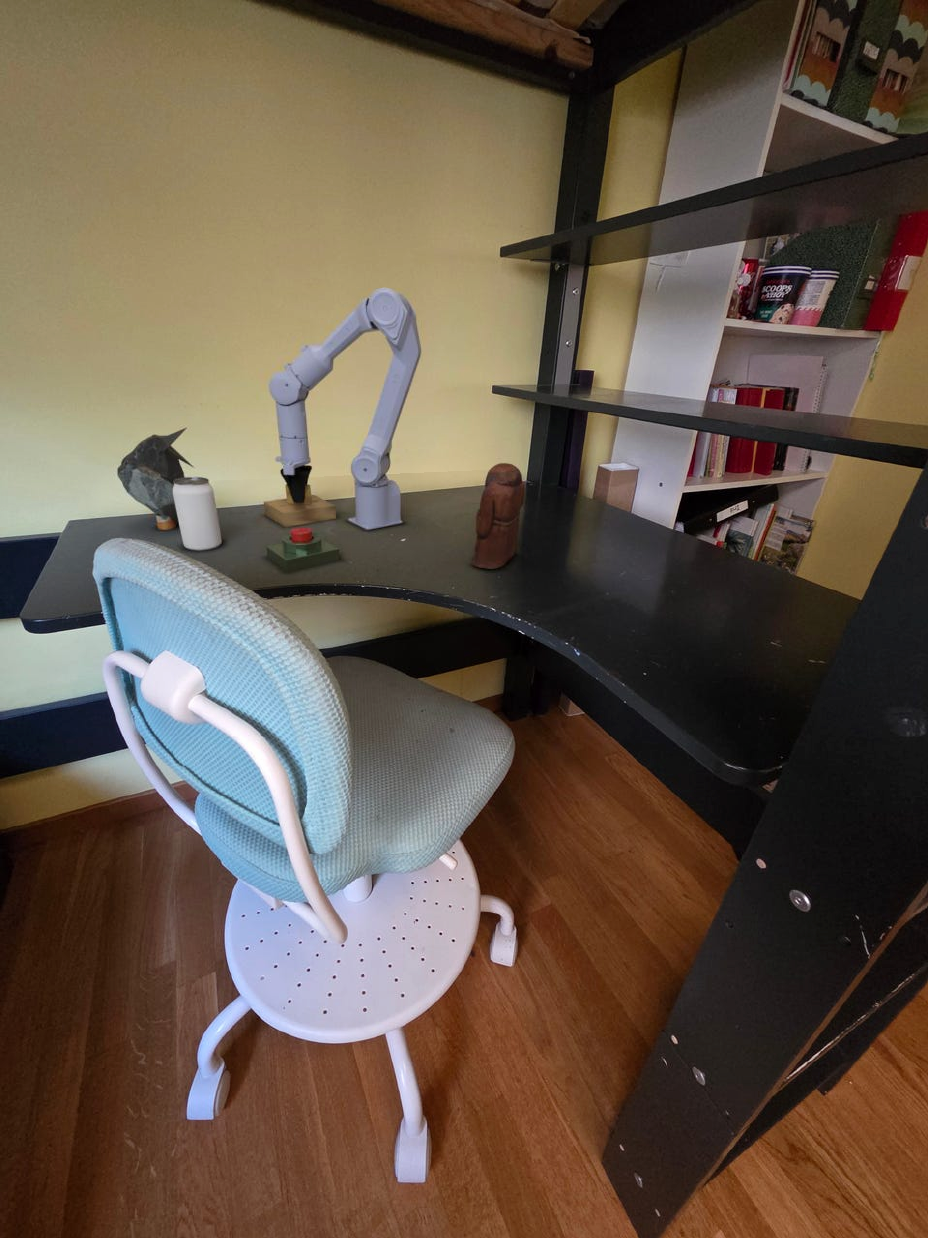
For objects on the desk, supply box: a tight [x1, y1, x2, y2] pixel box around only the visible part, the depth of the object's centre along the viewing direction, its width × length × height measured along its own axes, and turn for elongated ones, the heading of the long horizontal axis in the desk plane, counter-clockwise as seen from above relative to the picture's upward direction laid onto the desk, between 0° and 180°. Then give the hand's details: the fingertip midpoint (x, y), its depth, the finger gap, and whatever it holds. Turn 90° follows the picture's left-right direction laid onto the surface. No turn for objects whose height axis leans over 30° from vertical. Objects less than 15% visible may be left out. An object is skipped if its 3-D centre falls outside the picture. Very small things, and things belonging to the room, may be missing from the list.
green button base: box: [265, 532, 340, 573], centre depth 92 cm, size 10×8×4 cm
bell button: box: [289, 527, 313, 542], centre depth 90 cm, size 4×4×2 cm
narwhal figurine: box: [117, 427, 194, 531], centre depth 101 cm, size 14×15×18 cm
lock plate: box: [263, 494, 337, 528], centre depth 113 cm, size 12×10×3 cm
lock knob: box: [285, 483, 312, 504], centre depth 111 cm, size 5×1×4 cm, turn 95°
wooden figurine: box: [472, 462, 526, 570], centre depth 94 cm, size 12×6×18 cm, turn 156°
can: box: [173, 476, 223, 552], centre depth 92 cm, size 6×6×12 cm
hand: (299, 501), depth 112 cm, fingers closed on lock knob
